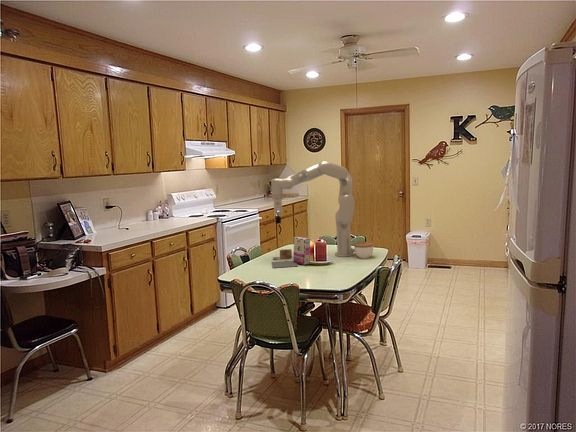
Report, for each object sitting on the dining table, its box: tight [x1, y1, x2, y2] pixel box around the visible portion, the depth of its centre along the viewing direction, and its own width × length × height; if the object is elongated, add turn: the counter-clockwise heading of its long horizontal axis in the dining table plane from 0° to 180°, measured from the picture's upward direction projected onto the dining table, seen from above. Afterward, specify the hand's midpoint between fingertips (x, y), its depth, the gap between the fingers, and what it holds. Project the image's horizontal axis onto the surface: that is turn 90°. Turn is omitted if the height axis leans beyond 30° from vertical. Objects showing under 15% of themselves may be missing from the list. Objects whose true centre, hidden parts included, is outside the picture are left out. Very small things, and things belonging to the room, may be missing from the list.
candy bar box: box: [292, 236, 311, 266], centre depth 286 cm, size 11×5×16 cm, turn 37°
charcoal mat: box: [271, 260, 298, 269], centre depth 286 cm, size 16×15×1 cm
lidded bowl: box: [353, 240, 374, 260], centre depth 294 cm, size 13×13×11 cm
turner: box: [272, 248, 293, 261], centre depth 304 cm, size 13×5×6 cm, turn 93°
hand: (278, 222), depth 300 cm, fingers open, 9 cm apart
